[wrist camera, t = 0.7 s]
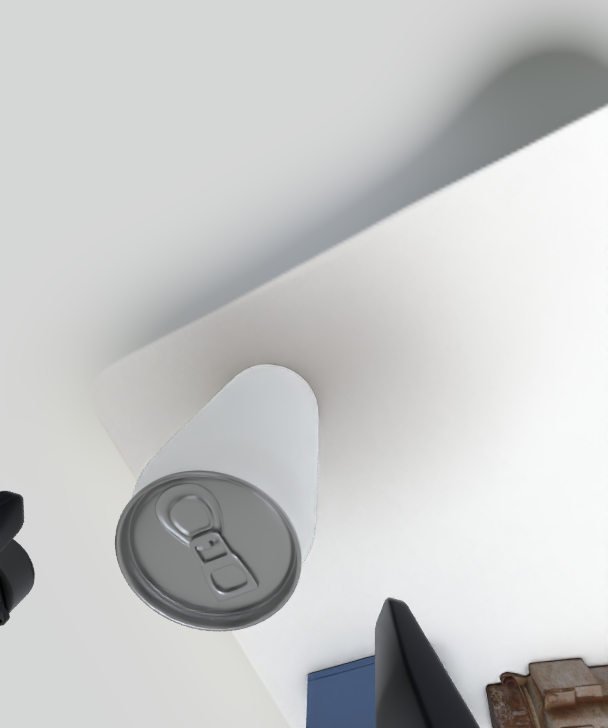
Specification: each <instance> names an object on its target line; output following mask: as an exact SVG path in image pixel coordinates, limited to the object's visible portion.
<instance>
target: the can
mask: <svg viewBox="0 0 608 728" xmlns="http://www.w3.org/2000/svg"><path fill="white" fill-rule="evenodd" d="M318 435H319V414H318V405H317V400H316V397H315V395H314V393H313V391H312V389H311V387H310V386H309V385H308V383H307V382H306V381H305V380H304V379H303V378H302V377H301V376H300V375H298V374H297V373H295V372H294V371H292V370H290V369H288V368H285V367H282V366H278V365H269V364H263V365H256V366H253V367H250V368H248V369H246V370H244V371H242V372H241V373H240V374H238V375H237V376H236V377H234V378H233V379H232V380H231V381H230V382H229V383H228V384H227V385H226V386H225V387H224V388H223V389H221V390H220V391H219V392H218V393H217V394H216V395H215V396H214V397H213V398H212V399H211V400H210V401H209V402H208V403H207V404H206V405H205V406H204V407H203V408H202V409H201V410H200V411H199V412H198V413H197V414H196V415H195V416H194V417H193V418H192V419H191V420H190V421H189V422H188V423H187V424H186V425H185V426H184V427H183V428H181V429H180V430H179V431H178V432H177V433H176V434H175V435H174V436H173V437H172V438H171V439H170V440H169V441H168V442H167V443H166V444H165V445H164V446H163V447H162V448H161V450H160V451H159V452H158V453H157V454H156V455H155V456H154V457H153V458H152V459H151V461H150V462H149V463H148V464H147V466H146V467H145V469H144V470H143V472H142V473H141V475H140V477H139V479H138V481H137V484H136V486H135V490H134V493H133V497H132V499H131V500H130V501H129V503H128V504H127V505H126V507H125V509H124V510H123V512H122V514H121V516H120V519H119V522H118V525H117V529H116V536H115V549H116V556H117V560H118V564H119V567H120V569H121V572H122V574H123V576H124V578H125V579H126V581H127V583H128V585H129V586H130V587H131V589H132V590H133V591H134V593H136V595H137V596H138V597H139V598H140V599H141V600H142V601H143V602H144V603H145V604H146V605H148V606H149V607H150V608H151V609H153V610H154V611H155V612H157V613H158V614H160V615H162V616H164V617H165V618H167V619H169V620H171V621H174V622H176V623H178V624H181V625H184V626H187V627H191V628H195V629H199V630H206V631H232V630H238V629H243V628H247V627H250V626H253V625H256V624H258V623H260V622H262V621H264V620H266V619H268V618H269V617H271V616H272V615H274V614H275V613H276V612H277V611H279V610H280V609H281V608H282V607H283V606H284V605H285V603H286V602H287V601H288V600H289V598H290V597H291V595H292V594H293V592H294V590H295V588H296V586H297V583H298V580H299V577H300V572H301V566H302V564H303V563H304V561H305V559H306V557H307V555H308V553H309V551H310V549H311V546H312V543H313V539H314V535H315V529H316V517H317V490H318Z"/></svg>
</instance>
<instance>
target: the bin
mask: <svg viewBox="0 0 608 728" xmlns="http://www.w3.org/2000/svg"><path fill="white" fill-rule="evenodd" d="M306 728H376V703H375V656H372V657H369V658H365V659H362V660H358V661H355V662H351V663H347V664H344V665H340V666H337V667H333V668H330V669H326V670H322V671H319V672H315V673H312V674H308V688H307V718H306Z"/></svg>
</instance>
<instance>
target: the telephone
mask: <svg viewBox="0 0 608 728" xmlns="http://www.w3.org/2000/svg"><path fill="white" fill-rule="evenodd" d="M529 670H530V675H529V676H528V677H524V676H520V675H516V674H512V673H505V674H503V675H502V676H501V679H500V680H501V682H502V684H501V685H491V686H488V687H487V696H488V702H489V708H490V714H491V720H492V726H493V728H608V666H606V667H596V668H588V667H587V665H586V664H585V662H584V661H583V660H582V659H581V658H578V659H569V660H559V661H550V662H540V663H531V664H529Z"/></svg>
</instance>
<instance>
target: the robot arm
mask: <svg viewBox="0 0 608 728" xmlns="http://www.w3.org/2000/svg"><path fill="white" fill-rule="evenodd" d="M23 508H24V506H23V497H22V496H21V495H20V494H16V493H13V492H9V491H1V492H0V552H1V551H2V550H3V549H4V548H5V546H6V545H7V544H8V543H9V542H10V541H11V540H12V539H13V538H14V537H15V536H16V534H17V533H18V532H19V531H20V529H21V528H22V525H23V523H24V509H23ZM9 618H10V616H9V611H8V607H7V603H6V598H5V594H4V590H3V585H2V581H1V577H0V626H1V625H4V624H5V623H6V622H7V621H8V620H9ZM375 703H376V728H480V727H479V725H478V724H477V722H476V720H475V719H474V717H473V715H472V714H471V712H470V710H469V709H468V707H467V705H466V704H465V702H464V700H463V698H462V697H461V695H460V693H459V692H458V690H457V688H456V687H455V685H454V683H453V682H452V680H451V678H450V677H449V675H448V673H447V671H446V670H445V668H444V666H443V665H442V663H441V661H440V660H439V658H438V656H437V655H436V653H435V651H434V650H433V648H432V646H431V644H430V643H429V641H428V639H427V638H426V636H425V634H424V633H423V631H422V629H421V628H420V626H419V624H418V622H417V621H416V619H415V617H414V616H413V614H412V612H411V611H410V609H409V607H408V606H407V604H406V603H405V602H403V601H400V600H397V599H393V598H387V599H386V600H385V602H384V605H383V607H382V610H381V612H380V615H379V617H378V620H377V622H376V628H375Z"/></svg>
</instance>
